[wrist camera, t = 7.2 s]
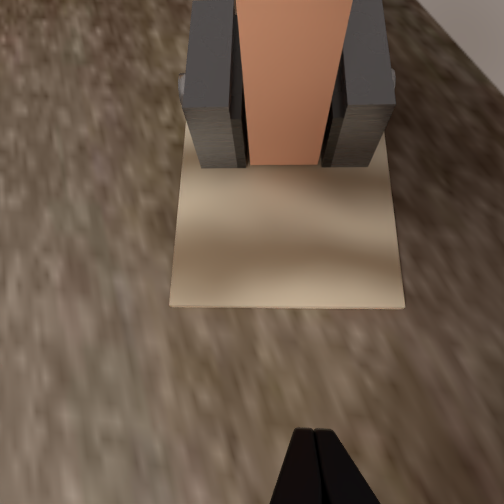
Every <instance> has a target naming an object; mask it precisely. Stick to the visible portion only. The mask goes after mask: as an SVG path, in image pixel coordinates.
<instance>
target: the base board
mask: <svg viewBox="0 0 504 504" xmlns="http://www.w3.org/2000/svg"><path fill="white" fill-rule="evenodd" d="M169 305H170V306H171V307H214V308H321V309H403V308H405V301H404V293H403V284H402V276H401V268H400V259H399V251H398V243H397V234H396V226H395V218H394V209H393V201H392V193H391V184H390V176H389V167H388V159H387V151H386V142H385V134H384V132H383V135H382V137H381V139H380V141H379V144H378V146H377V148H376V150H375V153H374V155H373V157H372V159H371V162H370V164H369V166H368V167H325V168H322V166H321V151H320V156H319V160H318V165H250V154H249V142H248V131H247V162H246V168H210V169H201V166H200V163H199V160H198V156H197V153H196V150H195V147H194V144H193V141H192V137H191V134H190V131H189V128H188V125H187V121H186V130H185V141H184V151H183V162H182V173H181V183H180V194H179V205H178V215H177V226H176V237H175V247H174V258H173V269H172V279H171V290H170V301H169Z"/></svg>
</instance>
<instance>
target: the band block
mask: <svg viewBox="0 0 504 504" xmlns="http://www.w3.org/2000/svg"><path fill="white" fill-rule="evenodd" d="M395 80H396V77H395V71H394V69H391V63H390V56H389V48H388V41H387V34H386V27H385V19H384V12H383V5H382V0H353V1H352V6H351V11H350V15H349V20H348V25H347V29H346V34H345V39H344V43H343V48H342V53H341V57H340V62H339V67H338V72H337V76H336V81H335V86H334V90H333V95H332V100H331V104H330V109H329V114H328V118H327V123H326V128H325V132H324V137H323V142H322V146H321V166H322V168H325V167H368V166H369V164H370V162H371V159H372V157H373V155H374V153H375V150H376V148H377V146H378V144H379V141H380V139H381V137H382V135H383V132H384V130H385V128H386V126H387V123H388V121H389V119H390V117H391V114H392V112H393V110H394V108H395V105H396V100H395V92H394V90H395ZM178 89H179V97H180V102H181V105H182V109H183V112H184V115H185V118H186V121H187V125H188V128H189V131H190V134H191V137H192V141H193V144H194V147H195V150H196V153H197V156H198V160H199V163H200V166H201V169H210V168H246V162H247V119H246V108H245V97H244V85H243V74H242V62H241V51H240V40H239V28H238V17H237V15H235V8H234V0H207V1H193V4H192V14H191V24H190V34H189V44H188V54H187V64H186V73H180V74H179V78H178Z"/></svg>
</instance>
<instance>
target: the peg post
mask: <svg viewBox="0 0 504 504" xmlns="http://www.w3.org/2000/svg"><path fill="white" fill-rule="evenodd" d="M352 1H353V0H236V5H237V17H238V28H239V40H240V51H241V62H242V74H243V85H244V97H245V108H246V119H247V131H248V142H249V154H250V165H318V160H319V156H320V151H321V146H322V142H323V137H324V132H325V128H326V123H327V118H328V114H329V109H330V104H331V100H332V95H333V90H334V86H335V81H336V76H337V72H338V67H339V62H340V57H341V53H342V48H343V43H344V39H345V34H346V29H347V25H348V20H349V15H350V11H351V6H352Z"/></svg>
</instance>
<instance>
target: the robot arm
mask: <svg viewBox="0 0 504 504" xmlns="http://www.w3.org/2000/svg"><path fill="white" fill-rule="evenodd" d="M270 504H380V502H379V500H378V499H377V497H376V496H375V494H374V493H373V491H372V490H371V488H370V487H369V485H368V483H367V482H366V480H365V479H364V477H363V476H362V474H361V473H360V471H359V469H358V468H357V466H356V465H355V463H354V462H353V460H352V459H351V457H350V456H349V454H348V452H347V451H346V449H345V448H344V446H343V445H342V443H341V442H340V440H339V438H338V437H337V435H336V434H335V432H334V431H333V430H331V429H323V428H316V429H314V431H313V429H311V428H300V427H297V428H295V429H294V431H293V434H292V437H291V440H290V443H289V446H288V449H287V452H286V455H285V458H284V461H283V464H282V468H281V471H280V474H279V477H278V480H277V483H276V486H275V489H274V492H273V495H272V498H271V501H270Z"/></svg>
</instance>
